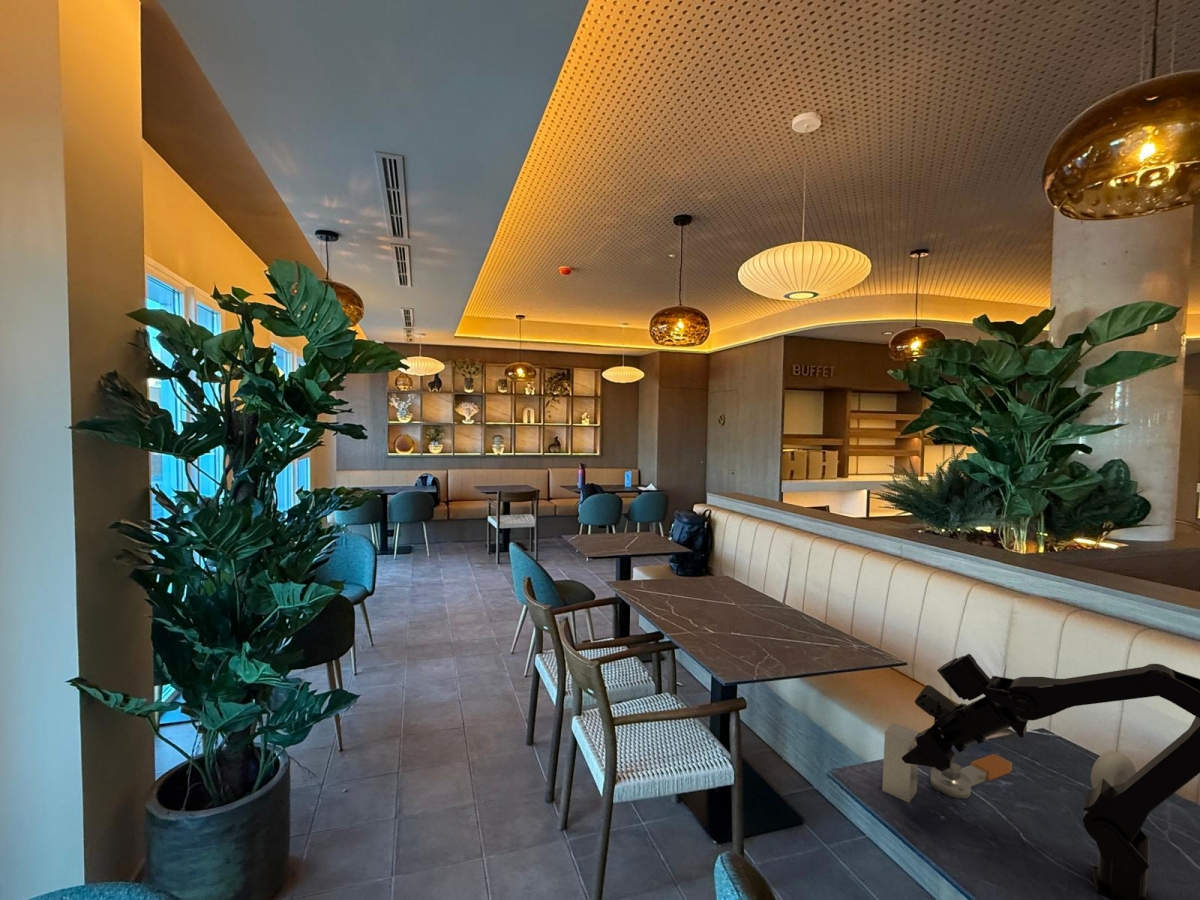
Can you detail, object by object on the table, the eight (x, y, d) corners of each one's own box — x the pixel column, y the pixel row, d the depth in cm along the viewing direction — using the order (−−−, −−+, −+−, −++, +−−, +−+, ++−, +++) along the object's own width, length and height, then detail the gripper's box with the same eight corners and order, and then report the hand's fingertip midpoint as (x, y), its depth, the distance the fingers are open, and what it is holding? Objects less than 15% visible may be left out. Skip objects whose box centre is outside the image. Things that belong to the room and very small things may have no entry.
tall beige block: (916, 791, 112) (919, 732, 112) (909, 802, 108) (911, 741, 108) (890, 780, 115) (893, 722, 115) (882, 790, 112) (884, 731, 112)
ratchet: (956, 802, 109) (957, 778, 109) (923, 781, 115) (924, 758, 115) (1021, 776, 118) (1023, 753, 118) (987, 758, 125) (988, 736, 125)
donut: (1104, 810, 108) (1107, 760, 108) (1085, 798, 111) (1087, 750, 111) (1139, 802, 111) (1142, 754, 110) (1119, 791, 114) (1122, 744, 114)
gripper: (957, 666, 113) (896, 698, 121) (931, 694, 100) (865, 728, 108) (1002, 718, 107) (935, 748, 116) (980, 756, 94) (907, 786, 102)
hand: (910, 751), depth 110 cm, fingers open, 9 cm apart
